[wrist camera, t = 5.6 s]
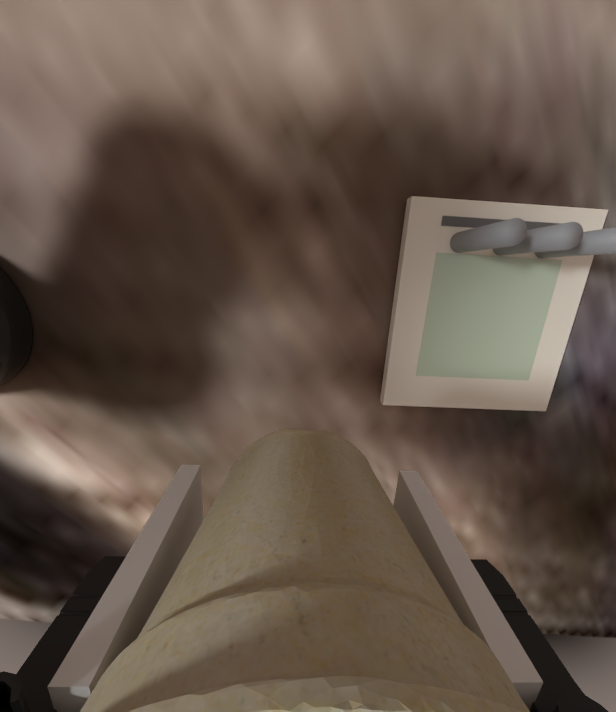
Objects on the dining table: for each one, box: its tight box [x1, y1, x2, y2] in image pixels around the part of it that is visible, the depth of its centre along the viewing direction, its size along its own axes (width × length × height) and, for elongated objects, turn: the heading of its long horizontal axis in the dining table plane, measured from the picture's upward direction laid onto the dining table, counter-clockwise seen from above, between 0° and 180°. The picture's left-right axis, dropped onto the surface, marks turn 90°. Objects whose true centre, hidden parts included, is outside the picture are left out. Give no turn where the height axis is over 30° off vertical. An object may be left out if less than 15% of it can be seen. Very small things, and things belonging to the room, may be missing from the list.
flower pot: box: [80, 429, 530, 712], centre depth 8 cm, size 9×9×9 cm
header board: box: [380, 196, 616, 411], centre depth 26 cm, size 18×20×8 cm
